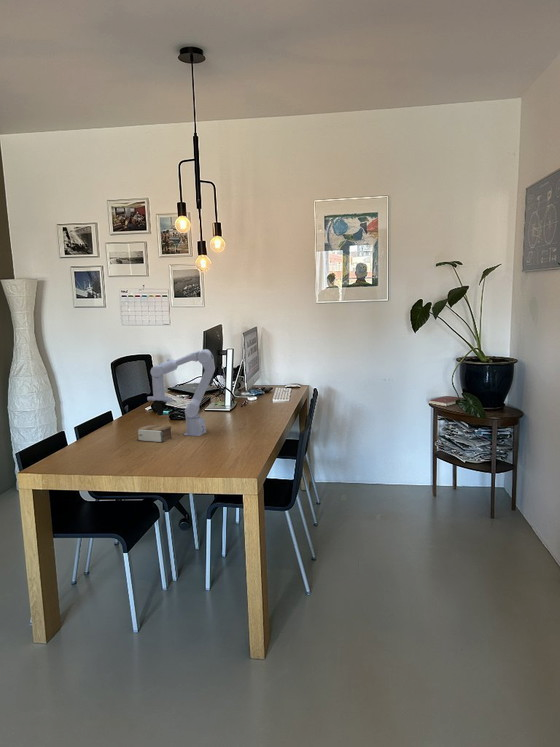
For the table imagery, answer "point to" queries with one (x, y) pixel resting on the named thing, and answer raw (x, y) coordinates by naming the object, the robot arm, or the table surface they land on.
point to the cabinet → (164, 429)
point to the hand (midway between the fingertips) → (160, 415)
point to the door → (150, 435)
